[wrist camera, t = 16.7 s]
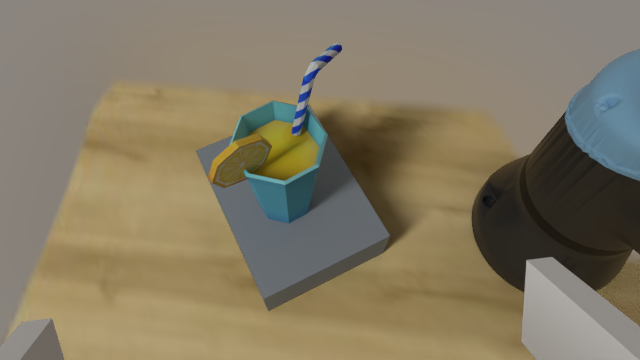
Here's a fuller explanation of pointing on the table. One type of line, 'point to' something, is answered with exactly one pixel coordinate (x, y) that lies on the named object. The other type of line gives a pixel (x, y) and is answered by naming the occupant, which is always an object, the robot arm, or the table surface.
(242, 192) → the slate block
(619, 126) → the robot arm
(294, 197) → the cup
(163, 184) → the table surface
